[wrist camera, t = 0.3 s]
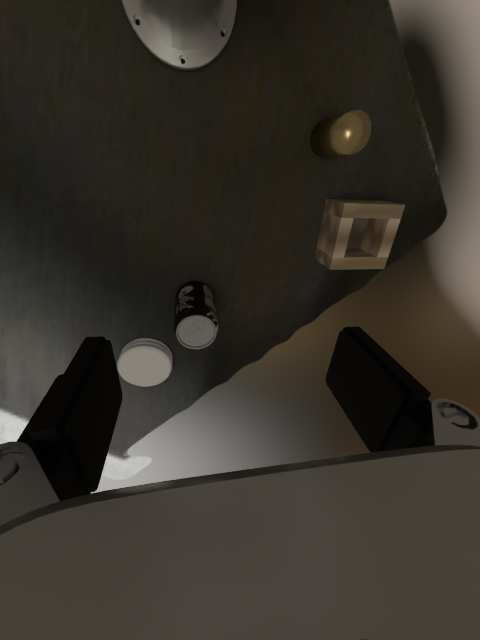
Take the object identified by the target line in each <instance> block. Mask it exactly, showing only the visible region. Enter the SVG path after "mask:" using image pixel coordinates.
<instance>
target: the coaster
mask: <svg viewBox="0 0 480 640" xmlns="http://www.w3.org/2000/svg"><path fill="white" fill-rule="evenodd" d="M172 361H173V356H172V353H171V351H170V349H169V348H168V347H167V346H166V345H165V344H164V343H163V342H161V341H159V340H156V339H153V338H139V339H135V340H133V341H131V342H129V343H128V344H126V345H125V346H124V348H123V349H122V351H121V353H120V356H119V359H118V362H117V368H118V372H119V374H120V375H121V377H122V378H123V379H124V380H126V381H127V382H129V383H131V384H133V385H137V386H153V385H157V384H159V383H161V382H163V381H164V380H165V379H166V378H167V377H168V376H169V375H170V373H171V370H172Z"/></svg>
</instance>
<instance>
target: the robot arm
mask: <svg viewBox="0 0 480 640" xmlns="http://www.w3.org/2000/svg"><path fill="white" fill-rule="evenodd" d="M122 3H123V6H124V9H125V12H126V15H127V17H128V20H129V22H130V24H131V26H132V28H133V30H134V32H135V33H136V35H137V37H138V39H139V40H140V41H141V43H142V44H143V45H144V47H145V48H146V49H147V50H148V51H149V52H150V53H151V54H152V55H153V56H154V57H155V58H156V59H158V60H159V61H161V62H162V63H163V64H165V65H167V66H169V67H171V68H174V69H177V70H182V71H194V70H198V69H201V68H204V67H206V66H207V65H209V64H210V63H212V62H213V61H214V60H215V59H216V58H217V57H218V56H219V55H220V54H221V52H222V51H223V49H224V47H225V46H226V44H227V42H228V40H229V37H230V35H231V32H232V29H233V25H234V22H235V15H236V9H237V0H122ZM136 21H139V22H140V25H139V26H137V25H136ZM222 32H223V33H224V35H225V36H224V37H222V36H221V33H222ZM182 59H184V60H185V64H182V63H181V60H182ZM326 383H327V386H328V387H329V388H330V390H331V392H332V393H333V395H334V397H335V398H336V400H337V401H338V403H339V404H340V406H341V407H342V409H343V411H344V412H345V414H346V415H347V417H348V418H349V420H350V421H351V423H352V425H353V426H354V427H355V429H356V431H357V432H358V434H359V435H360V437H361V439H362V440H363V442H364V443H365V445H366V447H367V448H368V450H369V451H370V452H372V453H365V454H357V455H350V456H342V457H335V458H327V459H320V460H312V461H306V462H299V463H291V464H284V465H276V466H269V467H262V468H255V469H247V470H240V471H233V472H226V473H219V474H213V475H206V476H198V477H191V478H184V479H177V480H170V481H163V482H157V483H151V484H144V485H138V486H132V487H126V488H119V489H113V490H107V491H102V492H97V493H92V494H91V492H94V491H96V490H97V488H98V485H99V482H100V478H101V474H102V471H103V467H104V464H105V460H106V456H107V453H108V449H109V446H110V442H111V439H112V435H113V431H114V428H115V424H116V421H117V417H118V413H119V410H120V406H121V403H122V390H121V386H120V381H119V376H118V372H117V367H116V363H115V358H114V354H113V349H112V345H111V342H110V340H105V338H104V337H86V338H85V339H84V341H83V343H82V344H81V346H80V348H79V349H78V351H77V353H76V354H75V356H74V358H73V359H72V361H71V363H70V364H69V366H68V368H67V369H66V371H65V373H64V374H61V375H59V376H58V377H57V378H56V379H55V381H54V382H53V384H52V386H51V387H50V389H49V390H48V392H47V394H46V395H45V397H44V398H43V400H42V402H41V403H40V405H39V406H38V408H37V410H36V411H35V413H34V415H33V416H32V418H31V419H30V421H29V423H28V424H27V426H26V427H25V429H24V431H23V432H22V434H21V435H20V437H19V439H18V440H17V442H8V443H4V444H0V640H480V418H479V417H478V416H477V415H476V414H475V413H474V412H472V411H471V410H470V409H468V408H466V407H465V406H463V405H462V404H459V403H457V402H455V401H452V400H448V399H435V400H434V401H433V402H432V403H431V402H430V401H429V400H428V398H429V396H430V394H431V393H430V392H429V391H428V390H427V389H426V388H425V387H423V386H422V385H421V384H420V383H419V382H418V381H417V380H416V379H415V378H414V377H413V376H412V375H411V374H409V373H408V372H407V371H406V370H405V369H404V368H403V367H402V366H401V365H400V364H399V363H398V362H396V360H394V359H393V358H392V357H391V356H390V355H389V354H388V353H387V352H386V351H385V350H383V348H382V347H381V346H379V345H378V344H377V343H376V342H375V341H374V340H373V339H372V338H371V337H370V336H369V335H368V334H367V333H366V332H364V331H363V330H362V329H361V328H360V327H345V328H344V329H343V330H342V331H340V333H339V335H338V339H337V342H336V345H335V349H334V352H333V355H332V359H331V362H330V365H329V369H328V372H327V375H326Z"/></svg>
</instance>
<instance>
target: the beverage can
mask: <svg viewBox="0 0 480 640" xmlns="http://www.w3.org/2000/svg"><path fill="white" fill-rule="evenodd" d="M217 331H218V320H217V315H216V310H215V305H214V300H213V295H212V292H211V291H210V289H209V288H208V287H207V286H205V285H204V284H201V283H197V282H192V283H188V284H185V285H184V286H182V287H181V288H180V289H179V290H178V292H177V295H176V303H175V315H174V332H175V335H176V336H177V339H178V340H179V342H180V343H181V344H182V345H183V346H185V347H187V348H191V349H201V348H204V347H207V346H208V345H210V344H211V343H212V342H213V341H214V339H215V337H216V334H217Z"/></svg>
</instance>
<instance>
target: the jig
mask: <svg viewBox="0 0 480 640" xmlns="http://www.w3.org/2000/svg"><path fill="white" fill-rule="evenodd" d="M404 207H405V205H403V204H397V203H392V202H386V201H380V200H349V199H326V201H325V206H324V212H323V217H322V222H321V227H320V233H319V238H318V243H317V248H316V254H315V259H316V260H317V261H319V262H320V263H321V264H323V265H324V266H325V267H327V268H328V269H330V270H339V269H384V267H385V264H386V261H387V258H388V255H389V252H390V249H391V246H392V243H393V240H394V237H395V234H396V231H397V228H398V225H399V222H400V219H401V216H402V213H403V210H404Z"/></svg>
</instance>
